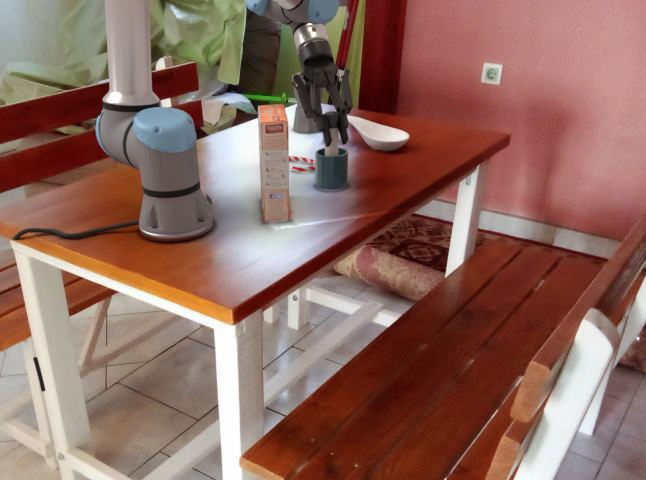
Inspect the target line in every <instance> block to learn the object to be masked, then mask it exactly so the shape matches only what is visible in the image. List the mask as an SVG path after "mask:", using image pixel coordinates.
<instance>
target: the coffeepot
mask: <svg viewBox="0 0 646 480" xmlns="http://www.w3.org/2000/svg"><path fill="white" fill-rule="evenodd" d="M301 72H302V71H299V72H296V73H294V74H292V75H291V81H292V80H293V77H294V75H295V74H297V75H299V74H301ZM303 80H304V79H303ZM304 85H305V88H306V91H307V93H308V96H309V99H310V102H311V105H312V108H313V98H312V92H311V86H310V85H309V84H308V83H307V82H306V81H305V80H304ZM292 87H293V88H292V89H293V93H294V100H295V101H296V107H295V112H294V117H293V118H294V119H293V125H292V129H293V131H294V132H296V133H299V134H317V133H320V132H319V131H318V129H317V125H316V122H314V119H313V118H310V119H307V118H306V116H305V113H304V110H303V107H302V104H301V101H300V98H299V95H298V92H297V90H296V89H295V87H294V86H293V85H292ZM323 95H324V88H320V97H321V100H322V99H323ZM321 110H322V113H321V114H324V112H323V106H322V105H321Z"/></svg>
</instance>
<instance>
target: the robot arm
mask: <svg viewBox="0 0 646 480" xmlns="http://www.w3.org/2000/svg"><path fill="white" fill-rule="evenodd" d="M244 2H245V6H246V7H247V9H248V10H249V11H251V12H253V13H254V14H256V15H257V16H262V17H265V18H267V19H269V20H272V21H276V22H278V23H281V24H282V25H286V26H288V27H290V29H291V32H292V36H293V41H294V46H295V49H296V54H297V57H298V61H299V65H300V70H301V71H300V72H301V74H299V75H297V74H296V73H294V74H295V75H294V74H293V75H294V77H293V80H292V79H291V85H292V87H293V86H294V87H295V89H296V90H297V92H298V95H299V98H300V101H301V104H302V107H303V110H304V113H305V116H306V118H307V119H310V118H313V119H314V122H316V125H317V129H318V131H319V132H318V133H322V136H324V140H325V142H324V145H325V144H326V147H329V146H330V144H331V142H332V137H331V133H330V129H329V125H328V121H327V117H326V114H325V113H323V114H321V113H322V111H323V109H322V110H321V106H322V99H321V97H320V88H323V89H325V91H326V93H328V95H329V97H330V100H331V102H332V105H333V107H334V109H335V112H339V131H338V135H339V138H340V141H341V145H342V146H346V145H347V143H348V141H349V140H350V139H349V134H348V131H347V130H348V128H349V125H350V123H349V122H348V118H347V116H348V115H350V114H351V112H352V110H353V108H354V101H353V98H352V96H353V95H352V91H351V85H350V79H349V77H350V73H351V70H350V69H349V68H345V69H344V70H342V69H339V67H338V65H336V63H335V58H334V55H333V51H332V47H331V44H330V39H329V36H328V31H327V28H326V24H329V23H331V22H332V21H333V20H334V19H335V18H336V16H337V13H338V10H339V8H340V0H244ZM150 6H151V5H150V0H104V13H105V31H106V46H107V47H106V48H107V49H106V50H107V65H108V67H107V68H108V84H109V88H108V92H107V93H106V94H105V95H104V96H103V97H102V110H101V113H100V115H98V116H97V119H96V122H95V136H96V140H97V143H98V145H99V146H100V147H101V149H102V151H104V153H105V154H106V155H107V156H108V157H110V158H112V159H113V161H115V162H117V163H120V164H123V165H126V166H129V167H130V168H132V169H135V170H137V171H139V172H140V179H141V187H142V193H143V197H142V203H141V208H140V213H139V219H136V220H130V221H126V222H121V223H115V224H111V225H106V226H102V227H97V228H93V229H89V230H85V231H81V232H74V233H71V232H69V233H67V232H64V231H61V230H59V229H55V228H45V227H43V228H42V227H29V228H25V229H22V230H20V231H18V232H17V233H15V235H14V236H13V237H12V241H17V240H19V239H20V238H21V237H22V236H24V235H27V234H33V233H35V234H36V233H38V234H54V235H56V236H59V237H62V238H64V239H76V238H77V239H78V238H83V237H87V236H90V235H95V234H98V233H104V232H109V231H113V230H117V229H123V228H127V227H128V228H129V227H133V226H138V228H139V233H140V235H141V236H142V237H143V238H145V239H147V240H151V241H154V242H160V243H176V242H177V243H178V242H183V241H189V240H193V239H197V238H199V237H201V236H204V235H206V234H207V233H209V232H210V231H211V230H212V228H213V226H214V221H213V215H212V212H211V209H210V208H209V206H208V203H209V205H210V206H213V199H212V198H211V197H210V196H209V194H207V193H205V196H204V193H203V191H202V188H201V179H200V168H199V167H200V166H199V156H198V155H199V154H198V146H197V139H198V138H197V132H196V128H195V127H196V126H195V123H194V120H193V118H192V116H191V115H190V114H189V113H188V112H186V111H184V110H182V109H179V108H175V107H170V108H168V107H166V106H161V100H160V98H159V97H158V95H157V94H156V93H155V92H154V91H153V79H152V77H153V76H152V75H153V74H152V43H151V41H152V40H151V10H150V8H151V7H150ZM336 77H338V81H339V82H340V89H341V94H340V91H339V89H338V87H337V85H336V84H337V83H336V80H335V79H336ZM303 79H304V80H305V81H306V82H307V83H308V84H309V85H310V86H311V92H312V98H313V108H312V105H311V102H310V99H309V96H308V93H307V91H306V88H305V85H304V80H303ZM341 96H342V97H341ZM205 197H206V198H205ZM28 232H29V233H28ZM32 359H33V363H34V366H35V370H36V374H37V377H38V382H39V387H40V391H41V392H45V391H46V387H45V382H44V377H43V374H42V369H41V366H40V362H39V357H38V356H34V357H32Z"/></svg>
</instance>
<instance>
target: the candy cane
mask: <svg viewBox="0 0 646 480" xmlns="http://www.w3.org/2000/svg"><path fill="white" fill-rule="evenodd" d="M295 161H296V162H305V163H309V164H311V165H310V166H305V167H304V166H302V167H299V166H292V167H291V170H292V171H296V172H311V171H314V170H315V159H313V158H309V157H303V156H295V155H289V162H295Z"/></svg>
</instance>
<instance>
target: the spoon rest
mask: <svg viewBox="0 0 646 480" xmlns="http://www.w3.org/2000/svg"><path fill="white" fill-rule="evenodd" d="M347 118H348V122H349V125H351V126H352V127H354V129H356V131H357V133H358V134H359V135H360V136H361V138H362V139H363V140H364V142H365V144H367V145H368V146H369V147H370V148H371V149H372V150H373V151H382V152H383V153H384V152H386V153H387V152H392V151H395V150H397V149H399V148H401V147H403V146H404V145H405V144H406V143H407V142H408V141H409V139H410V134H409V133H408V132H407V131H404V130H402V129H399V128H395V127H391V126H388V125H383V124H380V123H377V122H374V121H371V120H368V119H365V118H361V117H358V116H354V115H347ZM321 136H322V137H321V142H322V143H325V140H324V136H323V135H321Z"/></svg>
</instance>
